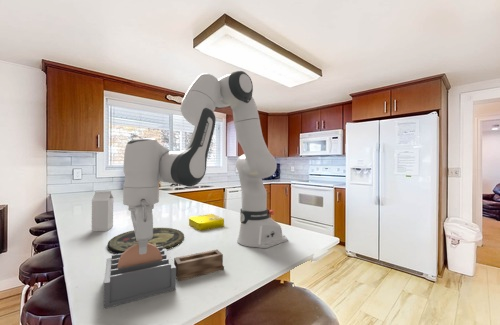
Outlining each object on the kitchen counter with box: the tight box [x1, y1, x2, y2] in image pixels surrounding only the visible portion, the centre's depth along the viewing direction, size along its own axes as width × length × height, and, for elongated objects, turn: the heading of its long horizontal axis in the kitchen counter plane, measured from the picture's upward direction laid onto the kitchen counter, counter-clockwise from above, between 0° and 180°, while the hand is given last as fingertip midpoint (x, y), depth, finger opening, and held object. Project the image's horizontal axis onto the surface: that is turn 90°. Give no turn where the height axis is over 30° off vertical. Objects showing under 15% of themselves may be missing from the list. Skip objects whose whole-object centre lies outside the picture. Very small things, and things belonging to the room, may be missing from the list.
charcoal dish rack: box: [103, 247, 177, 309], centre depth 63 cm, size 16×15×7 cm
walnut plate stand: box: [173, 249, 225, 282], centre depth 72 cm, size 14×7×4 cm, turn 120°
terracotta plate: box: [117, 243, 162, 269], centre depth 62 cm, size 11×1×11 cm, turn 121°
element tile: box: [188, 213, 225, 232], centre depth 122 cm, size 15×15×5 cm
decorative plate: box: [106, 227, 185, 255], centre depth 97 cm, size 30×2×30 cm
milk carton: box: [91, 190, 114, 232], centre depth 112 cm, size 7×7×19 cm
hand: (141, 246), depth 62 cm, fingers open, 8 cm apart
